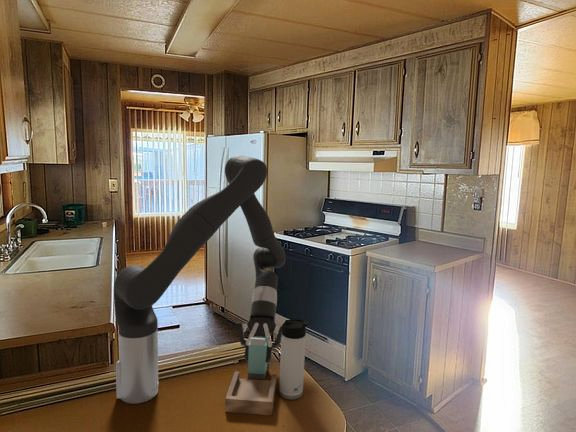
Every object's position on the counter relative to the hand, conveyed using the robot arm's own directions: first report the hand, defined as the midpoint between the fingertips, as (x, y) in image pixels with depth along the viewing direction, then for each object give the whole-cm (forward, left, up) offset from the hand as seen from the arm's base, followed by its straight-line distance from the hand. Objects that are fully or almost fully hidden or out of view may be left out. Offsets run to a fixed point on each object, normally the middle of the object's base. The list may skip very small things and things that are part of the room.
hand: (257, 361), depth 111 cm
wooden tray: (0, -9, -5) cm, 10 cm away
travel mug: (+10, -6, -5) cm, 13 cm away
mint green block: (0, +2, -5) cm, 5 cm away
